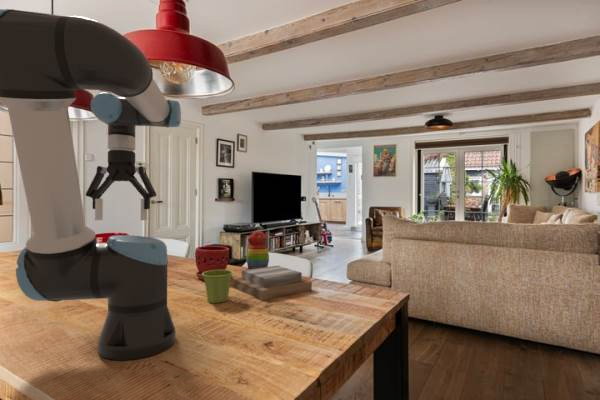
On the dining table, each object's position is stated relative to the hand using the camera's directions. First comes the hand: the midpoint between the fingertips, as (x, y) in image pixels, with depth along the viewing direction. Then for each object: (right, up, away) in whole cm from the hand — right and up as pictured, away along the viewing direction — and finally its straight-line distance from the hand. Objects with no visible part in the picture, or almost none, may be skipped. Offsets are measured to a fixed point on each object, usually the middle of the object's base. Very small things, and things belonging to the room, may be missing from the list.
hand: (121, 220), depth 106 cm
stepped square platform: (+45, -25, +16) cm, 53 cm away
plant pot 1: (+20, -25, +32) cm, 45 cm away
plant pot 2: (+29, -25, +1) cm, 38 cm away
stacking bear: (+37, -25, +40) cm, 59 cm away
